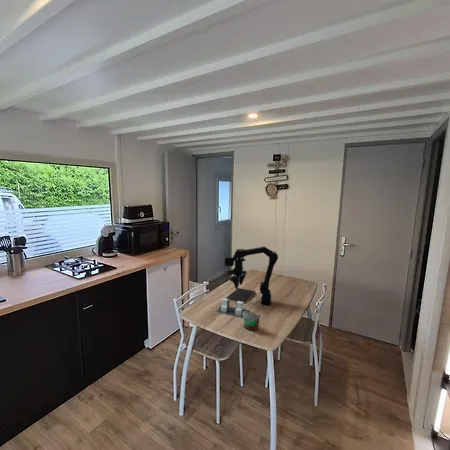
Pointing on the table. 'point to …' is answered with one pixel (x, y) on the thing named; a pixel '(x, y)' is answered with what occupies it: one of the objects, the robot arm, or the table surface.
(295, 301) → the table surface
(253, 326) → the food container
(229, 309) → the rail
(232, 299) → the hardcover book
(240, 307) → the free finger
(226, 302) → the block
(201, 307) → the table surface
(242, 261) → the robot arm
